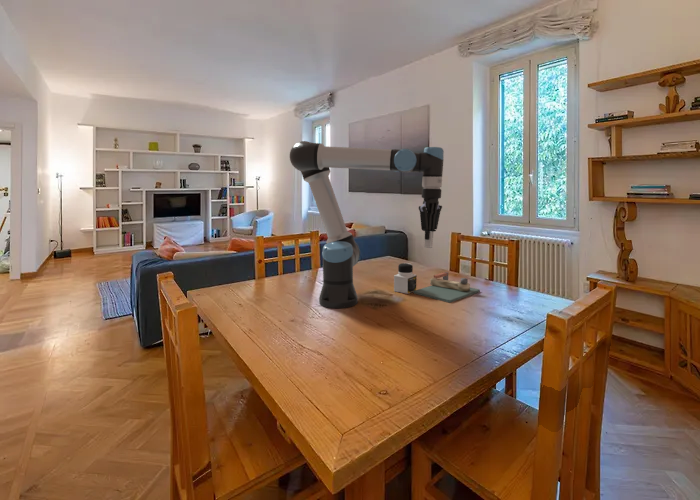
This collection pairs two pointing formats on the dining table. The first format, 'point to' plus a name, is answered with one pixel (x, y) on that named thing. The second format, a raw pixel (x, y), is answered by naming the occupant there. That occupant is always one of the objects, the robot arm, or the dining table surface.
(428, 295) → the pintle board
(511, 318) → the dining table surface
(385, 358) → the dining table surface
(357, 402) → the dining table surface
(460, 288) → the beige lumpy bar
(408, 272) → the medicine bottle
